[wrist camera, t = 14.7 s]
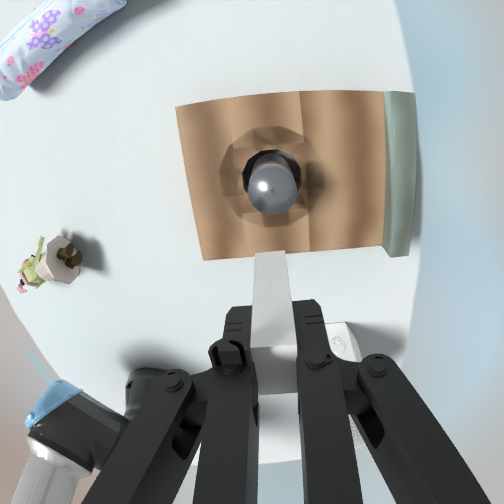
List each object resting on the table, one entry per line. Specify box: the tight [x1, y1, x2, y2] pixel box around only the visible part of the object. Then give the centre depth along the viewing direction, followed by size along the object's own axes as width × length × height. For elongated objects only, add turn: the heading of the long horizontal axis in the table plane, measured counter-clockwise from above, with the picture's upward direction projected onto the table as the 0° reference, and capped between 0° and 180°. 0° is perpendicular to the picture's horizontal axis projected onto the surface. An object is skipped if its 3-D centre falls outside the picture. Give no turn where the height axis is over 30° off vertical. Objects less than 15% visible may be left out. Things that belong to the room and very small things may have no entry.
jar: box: [325, 322, 362, 362], centre depth 40 cm, size 9×8×12 cm
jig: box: [175, 90, 417, 261], centre depth 30 cm, size 24×18×6 cm
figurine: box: [17, 236, 82, 294], centre depth 37 cm, size 9×7×15 cm
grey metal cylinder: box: [248, 154, 297, 215], centre depth 30 cm, size 4×4×8 cm
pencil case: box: [0, 0, 127, 101], centre depth 20 cm, size 21×9×10 cm, turn 115°
